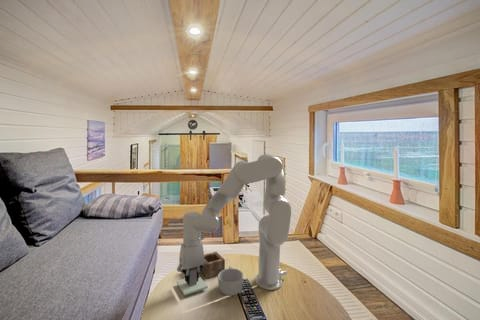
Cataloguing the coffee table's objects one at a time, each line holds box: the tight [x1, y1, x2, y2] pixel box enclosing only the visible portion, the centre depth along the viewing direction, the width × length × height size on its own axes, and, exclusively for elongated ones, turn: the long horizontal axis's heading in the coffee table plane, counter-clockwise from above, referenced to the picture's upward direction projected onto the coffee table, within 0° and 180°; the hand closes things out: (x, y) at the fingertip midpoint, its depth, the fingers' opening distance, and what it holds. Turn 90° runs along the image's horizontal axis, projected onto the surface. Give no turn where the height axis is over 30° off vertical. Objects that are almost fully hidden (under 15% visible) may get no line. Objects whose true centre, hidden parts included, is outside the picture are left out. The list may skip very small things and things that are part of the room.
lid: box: [176, 267, 208, 296], centre depth 108 cm, size 10×10×8 cm
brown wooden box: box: [199, 251, 226, 280], centre depth 122 cm, size 10×10×8 cm
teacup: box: [217, 266, 244, 297], centre depth 109 cm, size 14×11×8 cm
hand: (191, 280), depth 108 cm, fingers closed on lid, 3 cm apart
